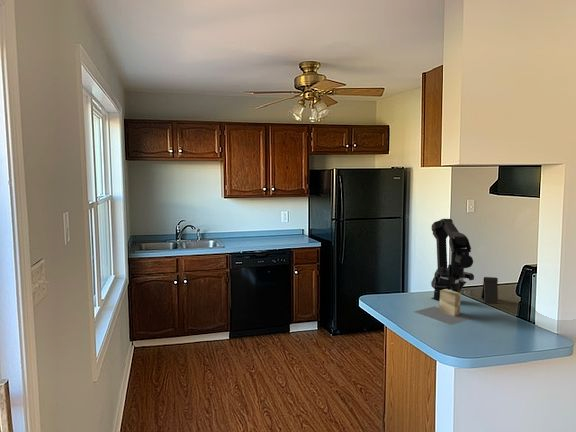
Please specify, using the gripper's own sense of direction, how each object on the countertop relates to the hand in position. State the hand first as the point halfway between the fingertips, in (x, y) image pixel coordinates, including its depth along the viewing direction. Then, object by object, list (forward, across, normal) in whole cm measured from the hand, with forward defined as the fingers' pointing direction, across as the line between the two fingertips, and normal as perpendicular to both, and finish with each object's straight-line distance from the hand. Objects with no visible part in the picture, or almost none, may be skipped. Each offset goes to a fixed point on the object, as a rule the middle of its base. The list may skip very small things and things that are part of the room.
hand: (455, 296), depth 210 cm
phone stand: (+8, -31, -2) cm, 32 cm away
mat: (+8, +9, 0) cm, 12 cm away
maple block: (+7, +4, 0) cm, 8 cm away
